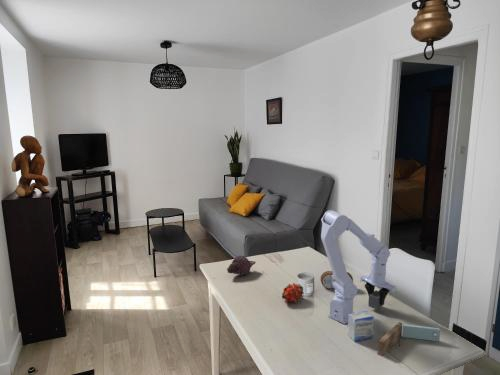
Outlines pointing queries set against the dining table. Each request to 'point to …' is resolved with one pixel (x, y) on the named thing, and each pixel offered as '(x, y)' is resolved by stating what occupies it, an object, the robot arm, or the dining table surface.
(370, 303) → the dark grey block
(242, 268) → the purple toy animal
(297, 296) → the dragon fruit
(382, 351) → the brown wooden plank
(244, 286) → the dining table surface
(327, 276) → the tin
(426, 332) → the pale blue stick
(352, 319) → the medicine box
